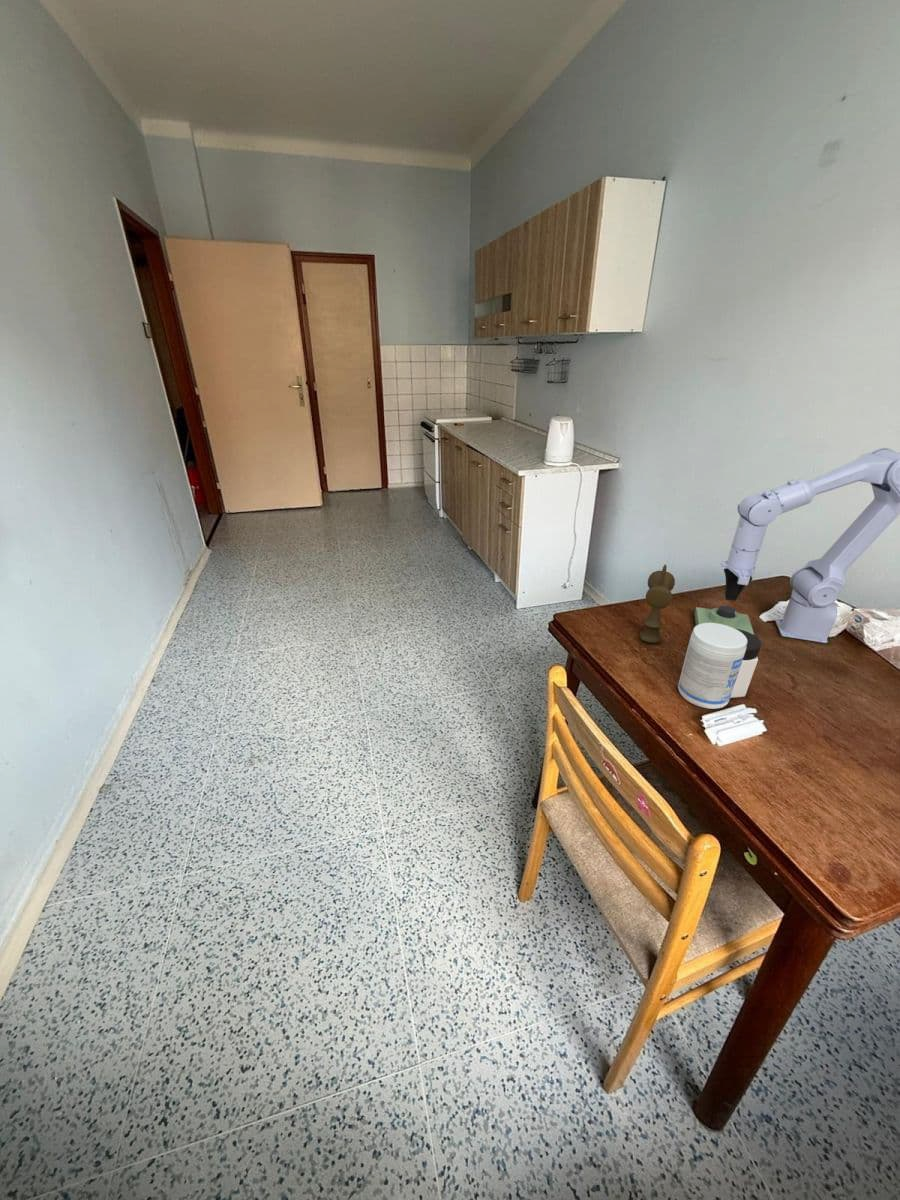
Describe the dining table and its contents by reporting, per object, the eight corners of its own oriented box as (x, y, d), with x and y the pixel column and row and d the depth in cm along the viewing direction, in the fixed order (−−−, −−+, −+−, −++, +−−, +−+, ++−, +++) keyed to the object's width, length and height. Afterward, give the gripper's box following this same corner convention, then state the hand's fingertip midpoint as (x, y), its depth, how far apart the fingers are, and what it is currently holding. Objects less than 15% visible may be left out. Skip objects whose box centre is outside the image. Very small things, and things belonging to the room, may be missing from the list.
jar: (754, 689, 98) (771, 640, 92) (735, 705, 94) (752, 655, 88) (711, 668, 104) (725, 622, 99) (691, 682, 100) (705, 635, 94)
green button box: (745, 622, 122) (750, 608, 120) (751, 642, 113) (756, 627, 111) (694, 614, 126) (697, 601, 124) (696, 633, 117) (700, 619, 115)
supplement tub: (731, 715, 91) (753, 653, 84) (678, 705, 94) (694, 643, 87) (724, 685, 99) (744, 626, 92) (675, 676, 102) (691, 618, 95)
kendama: (663, 632, 118) (680, 558, 109) (661, 652, 110) (679, 575, 101) (638, 627, 120) (652, 554, 111) (634, 646, 113) (649, 570, 103)
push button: (732, 613, 119) (734, 606, 118) (734, 619, 116) (736, 613, 115) (716, 610, 120) (718, 604, 119) (718, 617, 117) (719, 611, 116)
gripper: (723, 534, 116) (709, 584, 123) (730, 556, 105) (714, 609, 111) (755, 538, 114) (740, 588, 120) (766, 560, 102) (748, 614, 109)
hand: (730, 598), depth 116 cm, fingers closed
